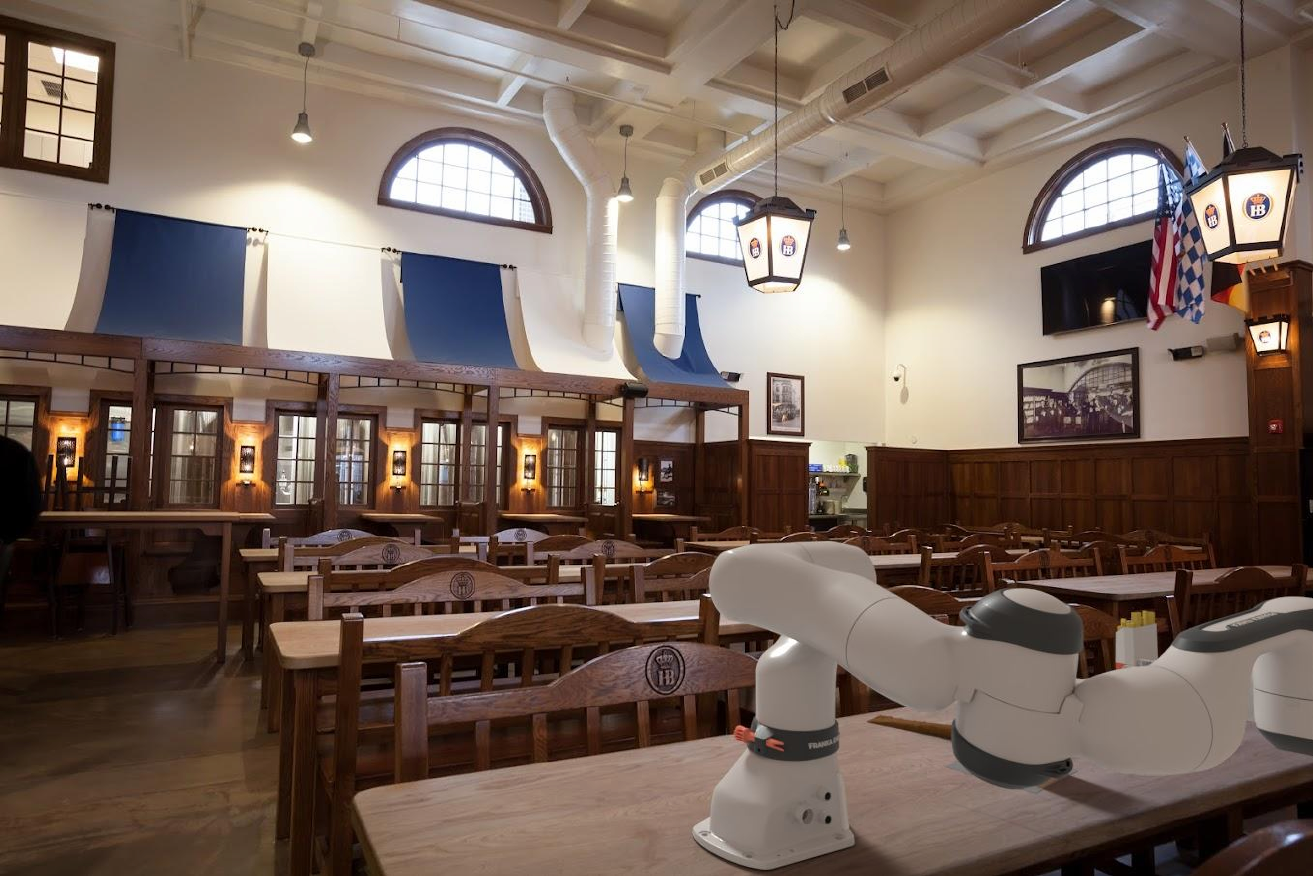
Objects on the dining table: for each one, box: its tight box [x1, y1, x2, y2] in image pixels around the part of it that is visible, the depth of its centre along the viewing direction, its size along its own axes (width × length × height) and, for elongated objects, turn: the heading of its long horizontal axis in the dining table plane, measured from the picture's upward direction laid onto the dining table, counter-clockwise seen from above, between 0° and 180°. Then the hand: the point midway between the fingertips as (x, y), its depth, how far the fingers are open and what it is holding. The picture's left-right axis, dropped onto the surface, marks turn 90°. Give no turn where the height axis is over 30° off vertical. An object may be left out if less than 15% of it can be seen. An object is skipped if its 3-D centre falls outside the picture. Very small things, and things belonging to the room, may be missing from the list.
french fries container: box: [1115, 610, 1159, 670], centre depth 184 cm, size 5×11×18 cm, turn 123°
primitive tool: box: [866, 714, 952, 740], centre depth 153 cm, size 19×6×4 cm, turn 45°
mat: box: [944, 760, 1078, 794], centre depth 130 cm, size 15×15×1 cm
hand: (1130, 668), depth 117 cm, fingers open, 4 cm apart
